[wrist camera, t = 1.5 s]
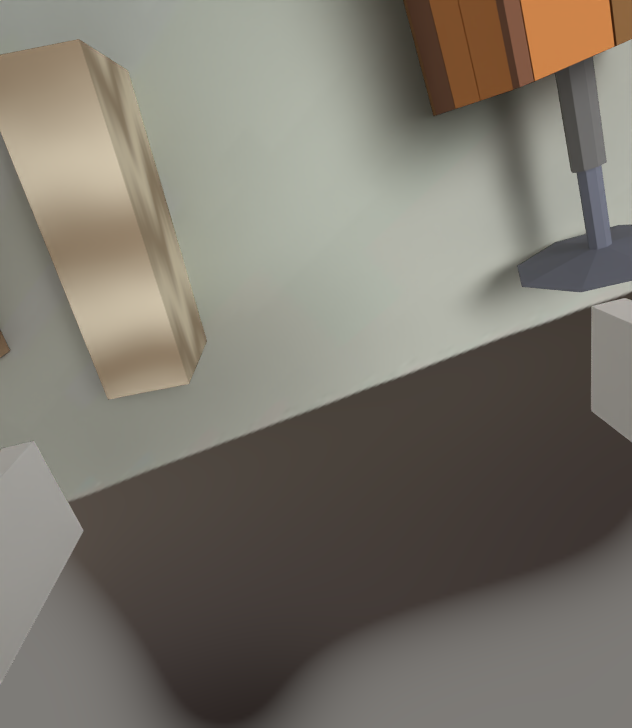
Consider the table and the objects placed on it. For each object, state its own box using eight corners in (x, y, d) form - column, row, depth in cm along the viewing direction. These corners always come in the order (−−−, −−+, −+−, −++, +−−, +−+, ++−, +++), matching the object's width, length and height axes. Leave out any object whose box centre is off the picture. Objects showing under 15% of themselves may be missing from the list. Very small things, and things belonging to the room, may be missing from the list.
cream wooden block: (48, 87, 26) (-29, 60, 19) (128, 71, 26) (78, 39, 19) (142, 353, 32) (108, 399, 26) (207, 340, 32) (189, 383, 26)
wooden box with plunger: (474, 271, 31) (614, 346, 18) (378, -93, 24) (501, -415, 11) (630, 208, 31) (896, 239, 17) (582, -191, 23) (994, -676, 10)
